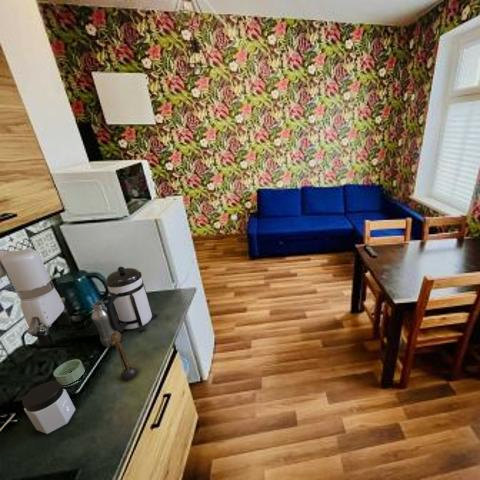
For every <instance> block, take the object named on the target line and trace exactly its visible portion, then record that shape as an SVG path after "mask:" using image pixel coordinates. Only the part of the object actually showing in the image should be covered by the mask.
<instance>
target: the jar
mask: <svg viewBox="0 0 480 480" xmlns="http://www.w3.org/2000/svg"><path fill="white" fill-rule="evenodd" d="M21 404H22V405H23V410H24V412H25V413H26V415H27V417H28V419H29V420H30V422H31V423H32V425H33V427H34V428H35V430H36V431H38V432H41V433H43V434H46V435H48V434H50V433H52V432H54V431H56V430H58V429H60V428H62V427H64V426H65V425H67V424H68V423H69V422H70V420H71V418H72V417H73V415H74V413H75V412H76V407H75V405H74V403H73V401H72V399H71V398H70V395H69V393H68V392H67V389H65V388H64V387H62V385H61V384H60V383H59V382H58V381H56V380H52V381H51V380H50V381H47V382H44V383H41V384H39V385H38V386H35V387H34V388H32V389H31V390H30V391H28V392H27V394H25V396H24V397H23V399H22V403H21Z"/></svg>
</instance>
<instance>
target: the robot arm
mask: <svg viewBox="0 0 480 480" xmlns="http://www.w3.org/2000/svg"><path fill="white" fill-rule="evenodd" d="M43 261H44V260H43V259H42V256H41V255H40V252H38V251H37V250H36V249H32V248H31V249H30V248H28V249H27V248H25V249H19V250H15V251H14V250H13V251H12V250H11V251H10V250H0V279H2V278H4V277H6V276H8V278H9V280H10V282H11V284H12V286H13V288H14V290H15V292H16V294H17V295H18V298H19V299H20V301H19V303H20V308H21V311H22V312H21V313H22V315H23V317H24V319H25V322H26V324H27V326H28V329H27V334H29V335H31V337H35V338H36V339H38V341H39V344H40V345H41V346H49V345H54V344H55V343H56V340H55V338H54V336H53V334H52V332H50V326H51V325H52V324H53V323H54V322H55V321H56V322H57V324H58V326H62V325H63V326H64V325H68V324H71V323H72V321H71V318H70V316H69V313H68V309H67V303H66V298H65V297H64V296H62V297H61V296H60V294H59V292H58V291H57V289H56V288H55V286H54V283H53V280H52V279H51V277H50V275H49V272H48V271H47V268H46V266H45V264H44V262H43ZM41 328H42V329H43V330H41Z"/></svg>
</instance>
